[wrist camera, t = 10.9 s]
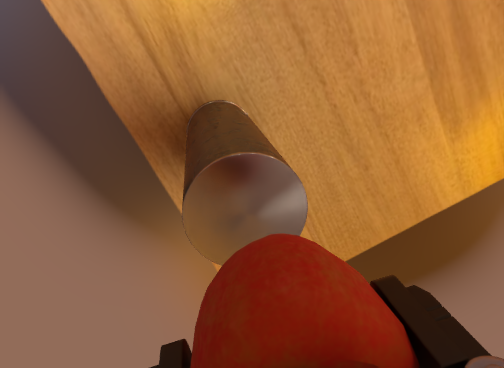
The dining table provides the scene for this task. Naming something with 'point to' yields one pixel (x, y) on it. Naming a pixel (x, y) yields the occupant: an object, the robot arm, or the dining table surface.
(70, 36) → the dining table surface
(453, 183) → the dining table surface
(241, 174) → the tin can
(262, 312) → the apple
